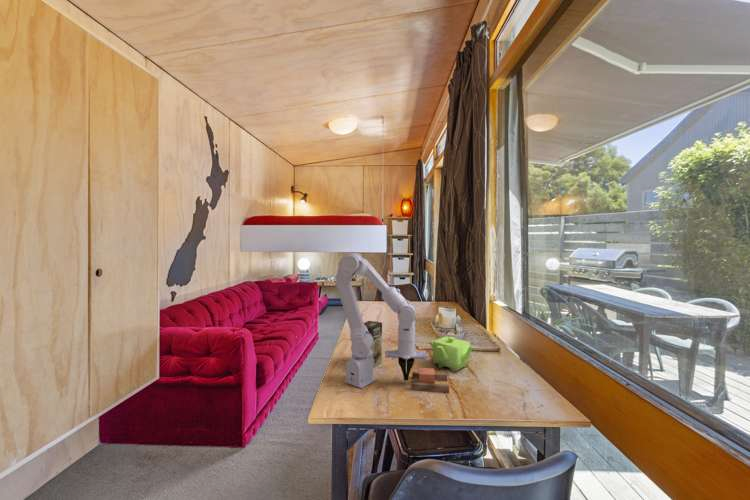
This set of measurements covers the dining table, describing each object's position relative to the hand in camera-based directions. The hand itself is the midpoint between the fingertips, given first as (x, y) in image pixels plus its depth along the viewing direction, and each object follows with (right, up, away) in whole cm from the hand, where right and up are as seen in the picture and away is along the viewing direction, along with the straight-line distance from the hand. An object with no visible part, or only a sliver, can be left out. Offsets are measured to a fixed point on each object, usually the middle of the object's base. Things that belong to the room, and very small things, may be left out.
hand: (406, 379), depth 113 cm
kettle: (+18, -1, +14) cm, 23 cm away
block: (+7, -1, -1) cm, 7 cm away
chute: (+7, -1, -1) cm, 7 cm away
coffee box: (-13, -1, +15) cm, 20 cm away
